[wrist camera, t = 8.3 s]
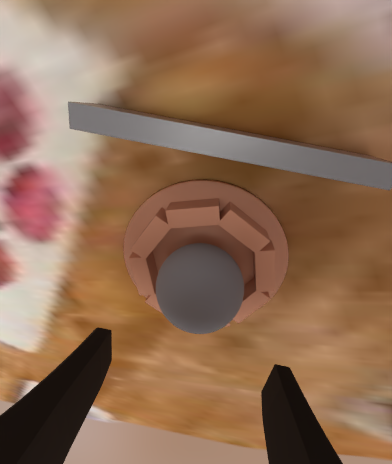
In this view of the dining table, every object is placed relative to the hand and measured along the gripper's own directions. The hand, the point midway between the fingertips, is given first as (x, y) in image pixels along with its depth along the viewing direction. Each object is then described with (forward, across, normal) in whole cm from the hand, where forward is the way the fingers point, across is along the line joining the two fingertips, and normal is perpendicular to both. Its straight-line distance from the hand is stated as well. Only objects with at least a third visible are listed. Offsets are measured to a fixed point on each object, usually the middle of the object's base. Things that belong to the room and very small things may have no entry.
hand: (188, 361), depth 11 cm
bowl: (+8, 0, 0) cm, 8 cm away
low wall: (+8, 0, -8) cm, 12 cm away
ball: (+5, 0, 0) cm, 5 cm away
